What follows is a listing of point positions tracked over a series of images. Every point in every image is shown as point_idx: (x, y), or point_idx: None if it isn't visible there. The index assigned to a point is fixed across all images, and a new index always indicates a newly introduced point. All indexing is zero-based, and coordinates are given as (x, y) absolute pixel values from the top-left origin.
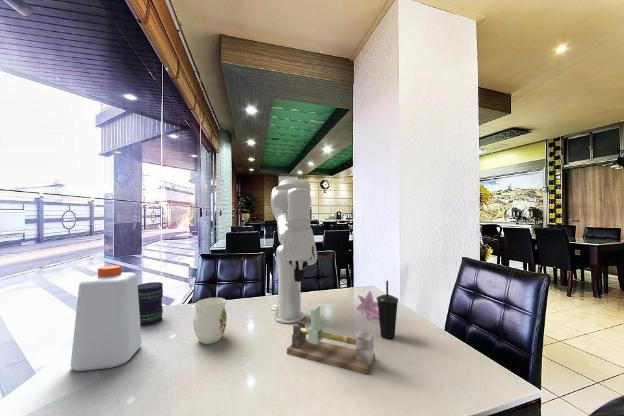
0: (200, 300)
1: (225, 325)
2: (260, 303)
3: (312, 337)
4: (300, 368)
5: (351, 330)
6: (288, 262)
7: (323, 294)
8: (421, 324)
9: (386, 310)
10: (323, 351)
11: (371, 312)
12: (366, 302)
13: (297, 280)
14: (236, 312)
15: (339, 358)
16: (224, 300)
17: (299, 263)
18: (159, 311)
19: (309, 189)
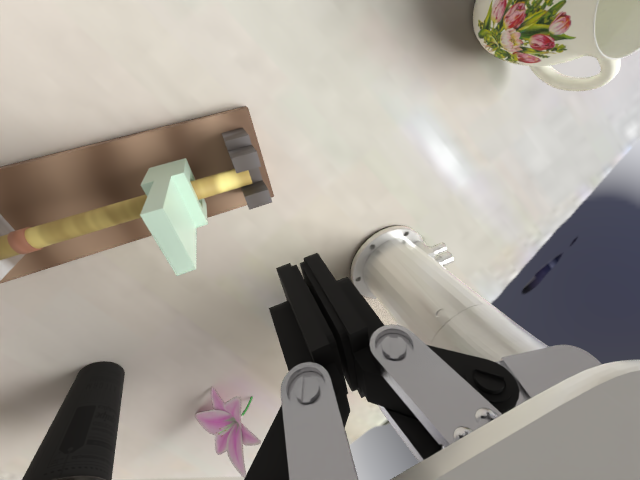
0: None
1: (496, 38)
2: (492, 259)
3: (167, 168)
4: (131, 58)
5: (205, 329)
6: (516, 362)
7: None
8: None
9: (44, 455)
10: (139, 178)
11: (216, 415)
12: (238, 435)
13: (296, 268)
14: (518, 185)
15: (55, 180)
16: (599, 54)
17: (346, 445)
18: None
19: None
